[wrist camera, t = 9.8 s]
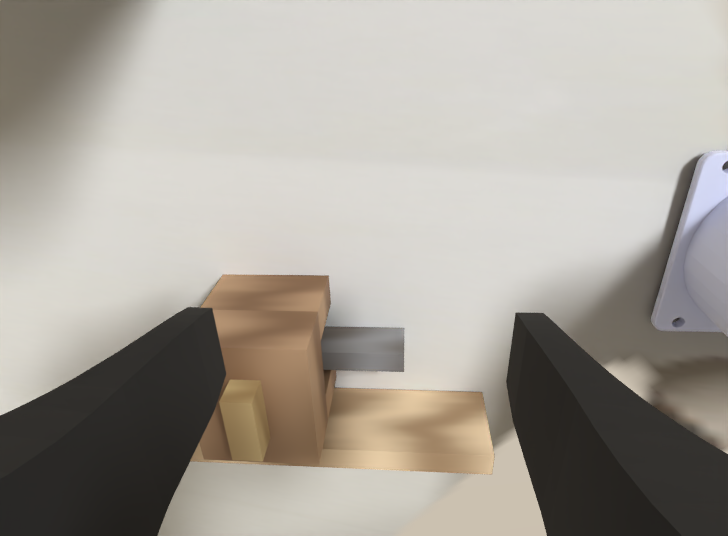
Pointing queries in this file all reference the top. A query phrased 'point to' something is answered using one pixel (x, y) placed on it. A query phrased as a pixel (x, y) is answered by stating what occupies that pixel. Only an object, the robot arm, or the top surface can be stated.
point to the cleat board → (395, 415)
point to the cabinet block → (270, 369)
